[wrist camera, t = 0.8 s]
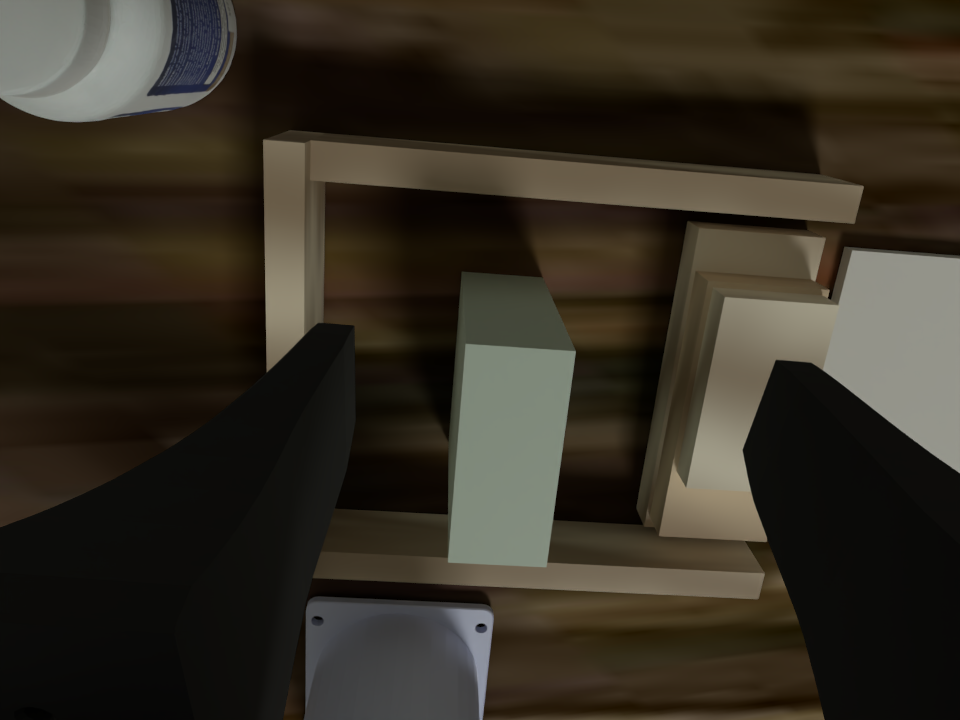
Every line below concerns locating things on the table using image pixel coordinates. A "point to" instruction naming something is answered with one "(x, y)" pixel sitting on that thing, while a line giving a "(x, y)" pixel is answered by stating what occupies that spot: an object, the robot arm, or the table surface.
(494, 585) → the rack
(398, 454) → the table surface
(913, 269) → the grey pad
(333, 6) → the table surface
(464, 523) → the green panel
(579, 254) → the table surface
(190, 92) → the pill bottle
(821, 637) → the robot arm
